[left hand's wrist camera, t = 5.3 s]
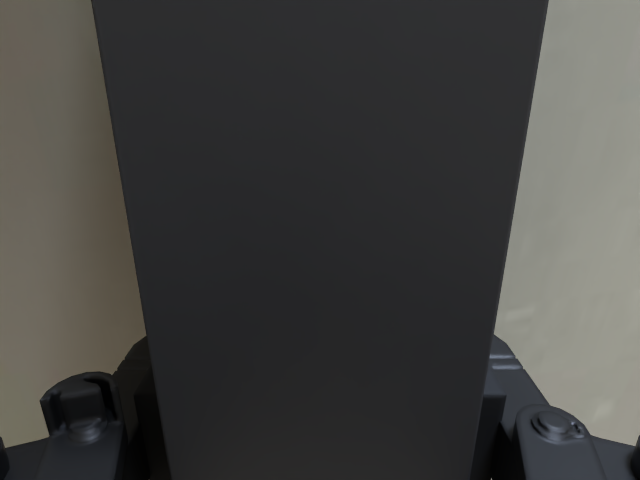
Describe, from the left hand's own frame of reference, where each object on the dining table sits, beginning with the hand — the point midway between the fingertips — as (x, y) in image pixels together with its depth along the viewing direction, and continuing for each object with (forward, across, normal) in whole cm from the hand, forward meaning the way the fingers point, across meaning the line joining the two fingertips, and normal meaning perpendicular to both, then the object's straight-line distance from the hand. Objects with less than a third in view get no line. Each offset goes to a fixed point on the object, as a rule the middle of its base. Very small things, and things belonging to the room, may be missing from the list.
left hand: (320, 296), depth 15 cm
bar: (+1, 0, -10) cm, 10 cm away
